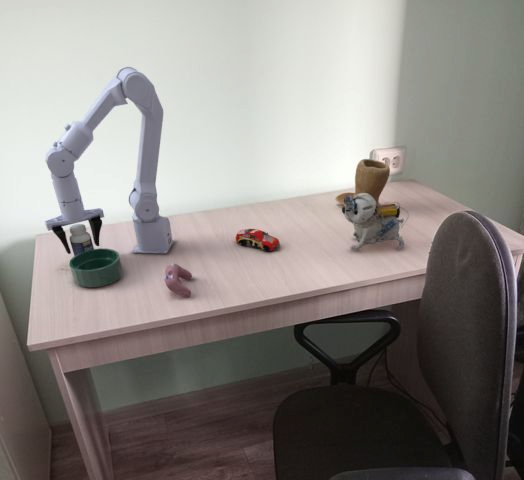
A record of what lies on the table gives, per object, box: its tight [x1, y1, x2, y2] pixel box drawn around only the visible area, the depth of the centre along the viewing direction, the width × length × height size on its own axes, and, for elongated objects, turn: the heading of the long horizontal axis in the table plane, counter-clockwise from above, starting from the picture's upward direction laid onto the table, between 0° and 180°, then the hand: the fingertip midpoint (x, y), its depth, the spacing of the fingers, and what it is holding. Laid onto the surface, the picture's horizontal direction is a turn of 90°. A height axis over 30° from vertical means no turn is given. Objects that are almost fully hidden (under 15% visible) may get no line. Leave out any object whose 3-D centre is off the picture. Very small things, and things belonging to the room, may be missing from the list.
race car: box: [235, 228, 281, 253], centre depth 137 cm, size 13×5×4 cm, turn 57°
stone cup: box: [335, 158, 391, 213], centre depth 152 cm, size 15×12×15 cm
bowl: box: [68, 247, 124, 288], centre depth 125 cm, size 12×12×5 cm
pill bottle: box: [69, 223, 95, 257], centre depth 131 cm, size 5×5×10 cm
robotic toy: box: [341, 193, 410, 251], centre depth 131 cm, size 13×17×15 cm
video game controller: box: [164, 262, 193, 298], centre depth 119 cm, size 10×5×7 cm, turn 5°
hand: (83, 248), depth 132 cm, fingers open, 7 cm apart
